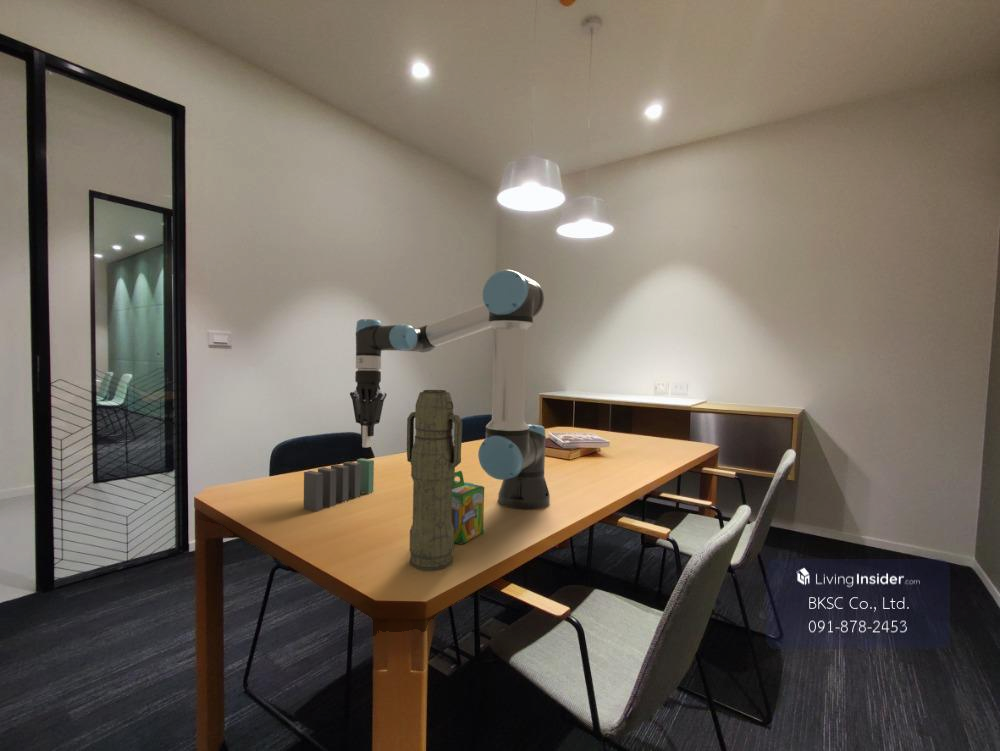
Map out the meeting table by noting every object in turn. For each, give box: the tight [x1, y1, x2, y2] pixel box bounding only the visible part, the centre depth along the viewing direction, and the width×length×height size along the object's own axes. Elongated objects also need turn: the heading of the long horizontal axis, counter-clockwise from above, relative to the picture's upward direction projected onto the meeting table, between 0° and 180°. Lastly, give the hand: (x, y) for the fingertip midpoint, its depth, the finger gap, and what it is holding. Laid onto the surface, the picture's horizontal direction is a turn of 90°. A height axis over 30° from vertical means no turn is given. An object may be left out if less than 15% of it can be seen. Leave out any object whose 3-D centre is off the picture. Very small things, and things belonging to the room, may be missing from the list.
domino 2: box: [317, 467, 337, 508], centre depth 125 cm, size 2×5×10 cm, turn 62°
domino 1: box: [303, 470, 323, 513], centre depth 121 cm, size 2×5×10 cm, turn 61°
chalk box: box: [452, 470, 485, 545], centre depth 106 cm, size 9×9×15 cm
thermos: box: [406, 389, 463, 572], centre depth 91 cm, size 9×12×35 cm
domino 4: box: [342, 461, 361, 499], centre depth 133 cm, size 2×5×10 cm, turn 62°
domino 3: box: [330, 464, 349, 503], centre depth 129 cm, size 2×5×10 cm, turn 62°
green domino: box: [356, 457, 375, 495], centre depth 138 cm, size 2×5×10 cm, turn 62°
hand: (367, 446), depth 138 cm, fingers closed
